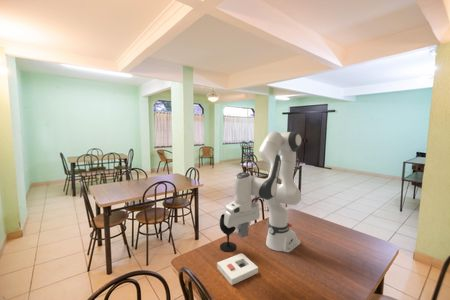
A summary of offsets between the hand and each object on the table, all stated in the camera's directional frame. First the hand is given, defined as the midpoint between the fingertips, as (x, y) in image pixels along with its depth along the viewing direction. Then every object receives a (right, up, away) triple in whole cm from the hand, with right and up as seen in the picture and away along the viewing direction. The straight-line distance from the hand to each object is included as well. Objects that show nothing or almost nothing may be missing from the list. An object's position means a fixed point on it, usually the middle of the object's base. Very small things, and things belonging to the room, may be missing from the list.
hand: (242, 230), depth 106 cm
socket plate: (-3, -21, +1) cm, 21 cm away
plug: (0, -2, 0) cm, 2 cm away
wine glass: (-7, -19, +21) cm, 29 cm away
